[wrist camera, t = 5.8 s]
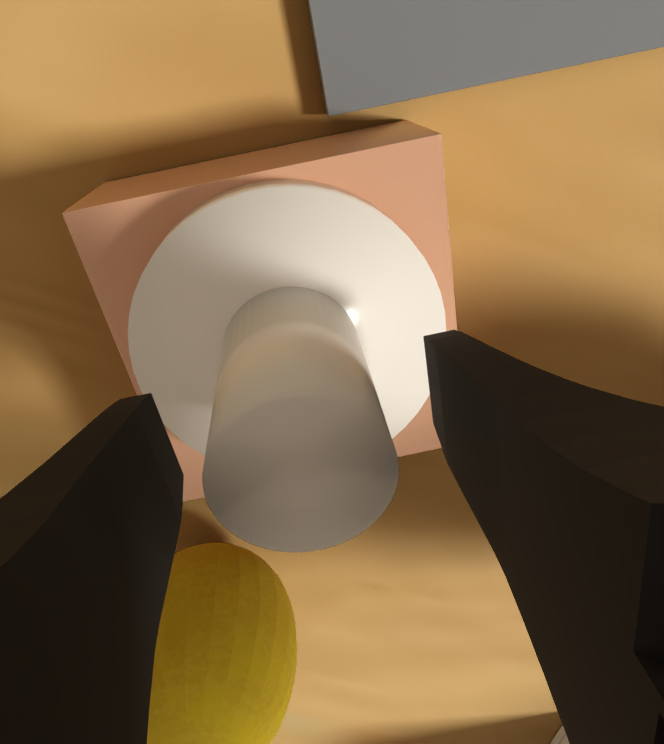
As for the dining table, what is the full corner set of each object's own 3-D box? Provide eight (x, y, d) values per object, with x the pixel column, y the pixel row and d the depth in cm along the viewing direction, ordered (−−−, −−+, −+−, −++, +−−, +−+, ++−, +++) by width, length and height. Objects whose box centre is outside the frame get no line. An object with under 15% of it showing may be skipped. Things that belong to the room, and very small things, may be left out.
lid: (432, 159, 12) (544, 223, 7) (436, 432, 15) (513, 600, 10) (98, 200, 12) (-22, 295, 7) (176, 468, 15) (133, 659, 10)
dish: (405, 119, 15) (441, 133, 12) (433, 380, 19) (466, 442, 16) (104, 182, 15) (61, 213, 12) (195, 430, 19) (181, 502, 16)
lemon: (109, 554, 21) (30, 802, 14) (216, 468, 19) (188, 695, 12) (220, 622, 23) (199, 864, 16) (322, 550, 22) (348, 780, 15)
